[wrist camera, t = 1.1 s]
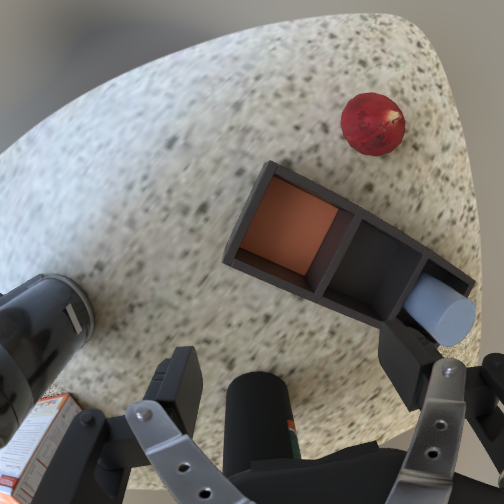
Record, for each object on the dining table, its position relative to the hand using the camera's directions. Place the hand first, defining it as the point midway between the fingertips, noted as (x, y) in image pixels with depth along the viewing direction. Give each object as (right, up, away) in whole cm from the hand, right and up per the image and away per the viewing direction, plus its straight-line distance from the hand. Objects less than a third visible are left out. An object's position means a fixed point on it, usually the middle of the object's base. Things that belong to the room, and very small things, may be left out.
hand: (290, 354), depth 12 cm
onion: (+9, +17, +15) cm, 24 cm away
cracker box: (-33, -21, +24) cm, 46 cm away
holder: (+9, +3, +18) cm, 21 cm away
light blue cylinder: (+17, 0, +19) cm, 25 cm away
